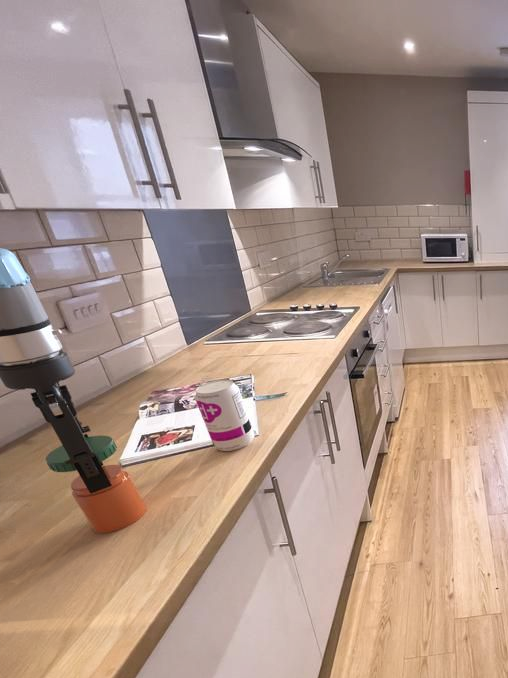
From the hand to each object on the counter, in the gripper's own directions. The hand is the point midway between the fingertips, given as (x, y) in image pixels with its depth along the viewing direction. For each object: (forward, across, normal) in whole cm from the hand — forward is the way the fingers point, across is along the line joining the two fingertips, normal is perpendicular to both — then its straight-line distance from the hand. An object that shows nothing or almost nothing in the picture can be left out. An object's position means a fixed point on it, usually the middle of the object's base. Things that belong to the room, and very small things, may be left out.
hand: (96, 477), depth 71 cm
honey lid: (-6, 0, 0) cm, 6 cm away
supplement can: (+9, +11, -23) cm, 27 cm away
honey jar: (+9, 0, 0) cm, 9 cm away
